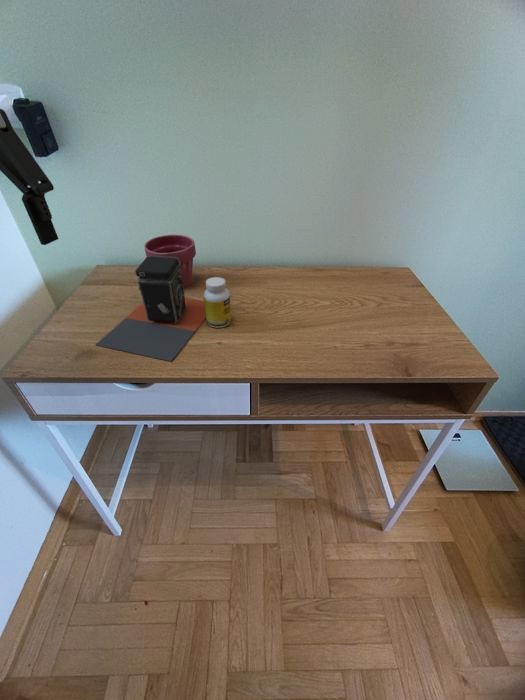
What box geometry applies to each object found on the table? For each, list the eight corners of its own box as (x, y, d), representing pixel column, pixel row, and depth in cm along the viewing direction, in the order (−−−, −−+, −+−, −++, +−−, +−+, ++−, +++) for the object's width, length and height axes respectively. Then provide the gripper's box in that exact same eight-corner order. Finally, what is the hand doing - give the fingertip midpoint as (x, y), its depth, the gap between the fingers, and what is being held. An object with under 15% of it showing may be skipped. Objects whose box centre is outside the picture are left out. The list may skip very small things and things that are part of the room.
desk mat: (95, 345, 75) (95, 344, 75) (154, 293, 95) (154, 292, 95) (171, 362, 71) (171, 361, 71) (216, 304, 91) (216, 303, 90)
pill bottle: (222, 331, 80) (219, 290, 73) (201, 324, 83) (196, 284, 75) (236, 318, 85) (234, 279, 78) (215, 312, 87) (211, 273, 80)
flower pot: (177, 298, 93) (169, 256, 84) (143, 286, 98) (133, 245, 90) (208, 279, 102) (204, 240, 94) (175, 269, 108) (169, 231, 100)
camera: (193, 305, 89) (185, 253, 80) (182, 326, 81) (172, 271, 72) (157, 302, 90) (145, 251, 81) (143, 323, 82) (128, 269, 73)
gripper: (40, 58, 38) (97, 237, 51) (-110, 59, 43) (-23, 221, 56) (-20, 52, 32) (62, 255, 45) (-184, 54, 37) (-68, 235, 51)
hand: (15, 237), depth 51 cm, fingers open, 13 cm apart
